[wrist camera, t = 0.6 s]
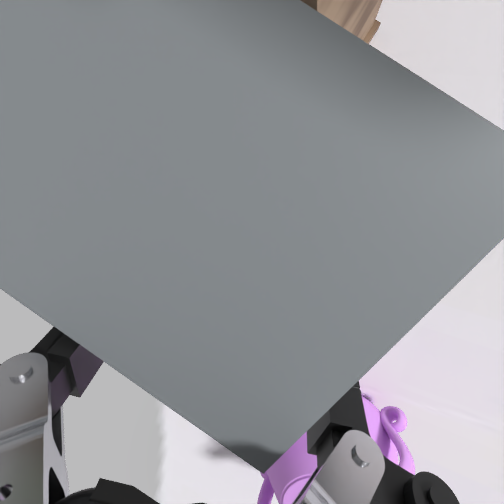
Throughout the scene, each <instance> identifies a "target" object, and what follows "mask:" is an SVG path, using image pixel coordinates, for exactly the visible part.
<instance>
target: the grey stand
mask: <svg viewBox="0 0 504 504" xmlns="http://www.w3.org/2000/svg"><path fill="white" fill-rule="evenodd" d="M503 238H504V130H502V129H501V128H499V127H497V126H496V125H494V124H493V123H491V122H490V121H488V120H486V119H485V118H483V117H482V116H480V115H479V114H477V113H476V112H474V111H472V110H471V109H469V108H468V107H466V106H465V105H463V104H461V103H460V102H458V101H457V100H455V99H454V98H452V97H451V96H449V95H447V94H446V93H444V92H443V91H441V90H440V89H438V88H436V87H435V86H433V85H432V84H430V83H429V82H427V81H426V80H424V79H422V78H421V77H419V76H418V75H416V74H415V73H413V72H411V71H410V70H408V69H407V68H405V67H404V66H402V65H400V64H399V63H397V62H396V61H394V60H393V59H391V58H390V57H388V56H386V55H385V54H383V53H382V52H380V51H379V50H377V49H375V48H374V47H372V46H371V45H369V44H368V43H366V42H365V41H363V40H361V39H360V38H358V37H357V36H355V35H354V34H352V33H350V32H349V31H347V30H346V29H344V28H343V27H341V26H340V25H338V24H336V23H335V22H333V21H332V20H330V19H329V18H327V17H325V16H324V15H322V14H321V13H319V12H318V11H316V10H315V9H313V8H311V7H310V6H308V5H307V4H305V3H304V2H302V1H300V0H0V289H2V290H3V291H5V292H6V293H7V294H9V295H10V296H12V297H13V298H15V299H16V300H17V301H19V302H20V303H22V304H23V305H24V306H26V307H27V308H29V309H30V310H32V311H33V312H34V313H36V314H37V315H39V316H40V317H42V318H43V319H44V320H46V321H47V322H49V323H50V324H51V325H53V326H54V327H56V328H57V329H58V330H60V331H61V332H63V333H64V334H66V335H67V336H68V337H70V338H71V339H73V340H74V341H75V342H77V343H78V344H80V345H81V346H83V347H84V348H85V349H87V350H88V351H90V352H91V353H93V354H94V355H95V356H97V357H98V358H100V359H101V360H102V361H104V362H105V363H107V364H108V365H110V366H111V367H112V368H114V369H115V370H117V371H118V372H120V373H121V374H122V375H124V376H125V377H127V378H128V379H130V380H131V381H132V382H134V383H135V384H137V385H138V386H139V387H141V388H142V389H144V390H145V391H147V392H148V393H149V394H151V395H152V396H154V397H155V398H156V399H158V400H159V401H161V402H162V403H164V404H165V405H166V406H168V407H169V408H171V409H172V410H173V411H175V412H176V413H178V414H179V415H181V416H182V417H183V418H185V419H186V420H188V421H189V422H190V423H192V424H193V425H195V426H196V427H198V428H199V429H200V430H202V431H203V432H205V433H206V434H208V435H209V436H210V437H212V438H213V439H215V440H216V441H217V442H219V443H220V444H222V445H223V446H225V447H226V448H227V449H229V450H230V451H232V452H233V453H234V454H236V455H237V456H239V457H240V458H242V459H243V460H244V461H246V462H247V463H249V464H250V465H252V466H253V467H254V468H256V469H257V470H259V471H260V472H261V473H263V474H264V473H265V472H266V471H267V470H268V469H269V468H270V467H271V466H272V465H273V464H274V463H275V462H276V461H277V460H278V459H279V458H280V457H281V456H282V455H283V454H284V453H285V452H286V451H287V450H288V449H289V448H290V447H291V446H292V445H293V444H294V443H295V442H296V441H297V440H298V439H299V438H300V437H301V436H302V435H303V434H304V433H305V432H307V431H308V430H309V429H310V428H311V427H312V426H313V425H314V424H315V423H316V422H317V421H318V420H319V419H320V418H321V417H322V416H323V415H324V414H325V413H326V412H327V411H328V410H329V409H330V408H331V407H332V406H333V405H334V404H335V403H336V402H337V401H338V400H339V399H340V398H341V397H342V396H343V395H344V394H345V393H346V392H347V391H348V390H349V389H350V388H351V387H352V386H353V385H354V384H355V383H357V382H358V381H359V380H360V379H361V378H362V377H363V376H364V375H365V374H366V373H367V372H368V371H369V370H370V369H371V368H372V367H373V366H374V365H375V364H376V363H377V362H378V361H379V360H380V359H381V358H382V357H383V356H384V355H385V354H386V353H387V352H388V351H389V350H390V349H391V348H392V347H393V346H394V345H395V344H396V343H397V342H398V341H399V340H400V339H401V338H402V337H403V336H404V335H405V334H406V333H408V332H409V331H410V330H411V329H412V328H413V327H414V326H415V325H416V324H417V323H418V322H419V321H420V320H421V319H422V318H423V317H424V316H425V315H426V314H427V313H428V312H429V311H430V310H431V309H432V308H433V307H434V306H435V305H436V304H437V303H438V302H439V301H440V300H441V299H442V298H443V297H444V296H445V295H446V294H447V293H448V292H449V291H450V290H451V289H452V288H453V287H454V286H455V285H456V284H458V283H459V282H460V281H461V280H462V279H463V278H464V277H465V276H466V275H467V274H468V273H469V272H470V271H471V270H472V269H473V268H474V267H475V266H476V265H477V264H478V263H479V262H480V261H481V260H482V259H483V258H484V257H485V256H486V255H487V254H488V253H489V252H490V251H491V250H492V249H493V248H494V247H495V246H496V245H497V244H498V243H499V242H500V241H501V240H502V239H503Z"/></svg>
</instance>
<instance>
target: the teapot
mask: <svg viewBox="0 0 504 504" xmlns="http://www.w3.org/2000/svg"><path fill="white" fill-rule="evenodd" d="M362 400H363V405H364V410H365V415H366V420H367V425H368V430H369V433H370V436H371V438H372V439H373V440H374V441H375V442H376V444H377V445H378V446H379V448H380V450H381V452H382V454H383V455H384V456H385V457H386V458H388V459H389V460H390V461H392V462H393V463H395V464H397V465H398V453H399V456H400V463H399V465H398V466H400V467H402V468H403V469H405V470H407V471H408V472H410V473H412V474H413V475H415V465H414V461H413V458H412V456H411V453H410V451H409V450H408V448H407V446H406V445H405V443H404V442H403V440H402V439H401V437H400V436H399V435H398V433H397V432H402V431H403V430H405V428H406V426H407V419H406V416H405V414H404V413H403V411H402V410H400V409H399V408H397V407H393V406H388V407H384V408H383V409H382V410H381V412H380V411H379V410H378V409H377V408H376V407H375V406H374V405H373V404H372V403H371V402H370V401H368V400H367V399H365V398H364V397H362ZM395 420H397V421H396V422H394V423H392V422H393V421H395ZM397 450H398V452H397ZM316 468H317V456H316V455H312V454H308V453H307V432H305V433H304V434H303V435H302V436H301V437H300V438H299V439H298V440H297V441H296V442H295V443H294V444H293V445H292V446H291V447H290V448H289V449H288V450H287V451H286V452H285V453H284V454H283V455H282V456H281V457H280V458H279V459H278V460H277V461H276V462H275V463H274V464H273V465H272V466H271V467H270V468H269V469H268V470H267V471H266V472H265V473H264V474H263V473H261V472H260V473H261V475H262V477H263V478H264V482H263V484H262V487H261V490H260V493H259V497H258V503H257V504H271V500H272V497H273V494H274V493H275V495H276V497H277V500H278V502H279V504H292V503H293V501H294V500H295V498H296V497H297V495H298V494H299V492H300V491H301V489H302V488H303V487H304V485H305V484H306V482H307V481H308V479H309V478H310V476H311V475H312V473H313V472H314V470H315V469H316Z"/></svg>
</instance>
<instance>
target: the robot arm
mask: <svg viewBox="0 0 504 504" xmlns="http://www.w3.org/2000/svg"><path fill="white" fill-rule="evenodd" d="M103 362H104V361H102V360H101V359H100V358H98V357H97V356H95V355H94V354H93V353H91V352H90V351H88V350H87V349H85V348H84V347H83V346H81V345H80V344H78V343H77V342H75V341H74V340H73V339H71V338H70V337H68V336H67V335H66V334H64V333H63V332H61V331H60V330H58V329H57V328H56V327H53V328H52V329H51V330H50V331H49V333H48V334H46V336H45V337H44V338H43V339H42V340H41V341H40V342H39V343H38V344H37V345H36V346H35V347H34V348H33V349H32V350H31V351H30V352H29V353H23V354H19V355H16V356H14V357H12V358H10V359H8V360H7V361H5V362H4V363H3V364H0V504H159V503H158V502H156V501H155V500H153V499H152V498H150V497H149V496H147V495H146V494H144V493H143V492H141V491H140V490H138V489H137V488H135V487H134V486H130V485H126V484H122V483H118V482H114V481H109V480H105V479H102V478H100V479H99V481H98V484H97V486H96V488H89V489H85V490H81V491H79V492H76V493H73V494H71V495H69V483H68V475H67V469H66V463H65V447H64V424H63V406H62V405H63V403H64V402H65V400H66V399H67V398H68V396H69V395H72V396H76V397H81V395H82V394H83V392H84V390H85V389H86V388H87V386H88V385H89V383H90V381H91V380H92V379H93V377H94V375H95V374H96V372H97V371H98V369H99V368H100V366H101V365H102V363H103ZM359 388H360V386H359V381H358V382H357V383H355V384H354V385H353V386H352V387H351V388H350V389H349V390H348V391H347V392H346V393H345V394H344V395H343V396H342V397H341V398H340V399H339V400H338V401H337V402H336V403H335V404H334V405H333V406H332V407H331V408H330V409H329V410H328V411H327V412H326V413H325V414H324V415H323V416H322V417H321V418H320V419H319V420H318V421H317V422H316V423H315V424H314V425H313V426H312V427H311V428H310V429H309V430H308V431H307V453H308V454H312V455H316V456H317V468H316V469H315V470H314V472H313V473H312V475H311V476H310V478H309V479H308V481H307V482H306V484H305V485H304V487H303V488H302V489H301V491H300V492H299V494H298V495H297V497H296V498H295V500H294V501H293V503H292V504H459V502H458V500H457V498H456V496H455V494H454V493H453V491H452V490H451V489H450V488H449V486H448V485H447V484H446V483H445V482H444V481H443V480H441V479H440V478H439V477H437V476H436V475H434V474H432V473H429V472H419V473H418V474H416V475H413V474H412V473H410V472H408V471H407V470H405V469H403V468H402V467H400V466H398V465H397V464H395V463H393V462H392V461H390V460H389V459H388V458H386V457H385V456H384V455H383V454H382V452H381V450H380V448H379V446H378V445H377V444H376V442H375V441H374V440H373V439H372V438H371V436H370V433H369V430H368V425H367V420H366V415H365V410H364V405H363V400H362V395H361V391H360V389H359ZM194 504H205V503H194Z"/></svg>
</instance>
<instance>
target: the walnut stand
mask: <svg viewBox="0 0 504 504" xmlns="http://www.w3.org/2000/svg"><path fill="white" fill-rule="evenodd" d="M300 1H302V2H304V3H305V4H307V5H308V6H310V7H311V8H313V9H315V10H316V11H318V12H319V13H321V14H322V15H324V16H325V17H327V18H329V19H330V20H332V21H333V22H335V23H336V24H338V25H340V26H341V27H343V28H344V29H346V30H347V31H349V32H350V33H352V34H354V35H355V36H357V37H358V38H360V39H361V40H363V41H365V42H366V43H368V44H369V42H370V41H371V39H372V38H373V36H374V35H375V33H376V31H377V30H378V28H379V26H380V22H379V21H377V20H375V18H376V16H377V13H378V11H379V8H380V5H381V3H382V0H300Z"/></svg>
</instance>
